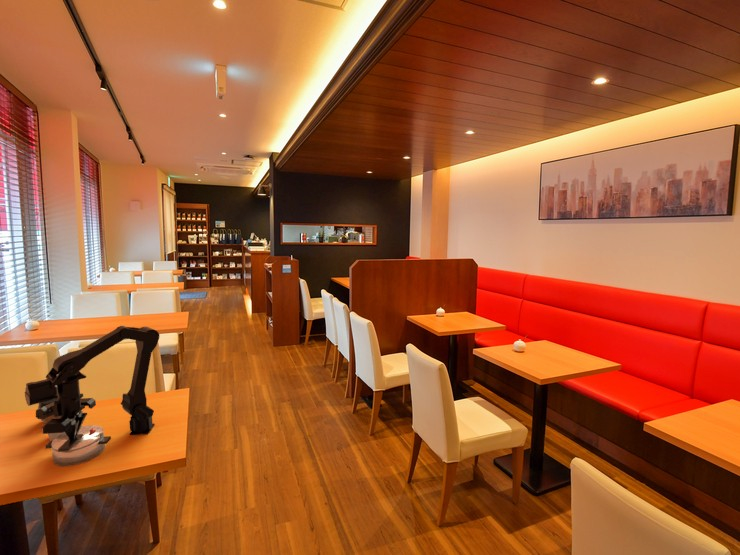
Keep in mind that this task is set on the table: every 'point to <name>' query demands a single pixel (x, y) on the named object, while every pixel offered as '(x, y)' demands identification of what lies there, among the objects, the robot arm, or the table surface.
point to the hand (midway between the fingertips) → (73, 438)
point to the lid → (78, 439)
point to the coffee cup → (51, 417)
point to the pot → (79, 453)
